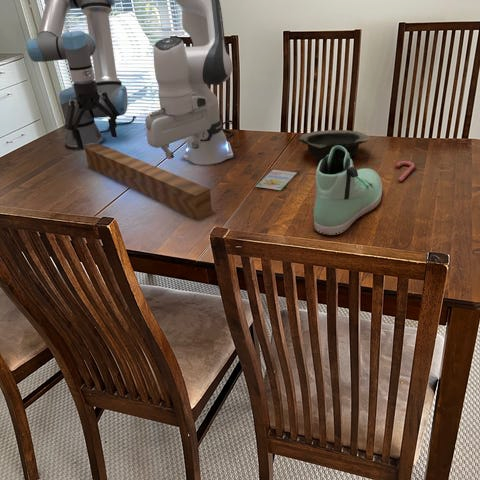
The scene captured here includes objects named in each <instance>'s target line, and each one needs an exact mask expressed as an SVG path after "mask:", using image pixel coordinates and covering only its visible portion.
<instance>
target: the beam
mask: <svg viewBox="0 0 480 480" xmlns="http://www.w3.org/2000/svg"><path fill="white" fill-rule="evenodd" d="M83 150H84V154H85V157H86V162H87V165H88V168H89V169H90V170H93V171H95V172H98V173H99V174H101V175H103V176H106V177H108V178H110V179H111V180H114V181H115V182H118V183H120V184H122V185H124V186H126V187H128V188H130V189H132V190H134V191H136V192H139V193H141V194H142V195H145V196H146V197H149V198H150V199H153V200H155V201H157V202H159V203H161V204H163V205H166V206H167V207H169V208H171V209H173V210H175V211H178V212H180V213H181V214H184V215H186V216H188V217H190V218H192V219H194V220H196V221H200V220H202V219H204V218H206V217H208V216H210V215H212V214H213V206H212V205H213V204H212V195H211V189H210V188H209V187H207V186H204V185H202V184H199V183H197V182H194V181H192V180H189V179H187V178H184V177H182V176H180V175H177V174H174V173H172V172H170V171H168V170H165V169H163V168H161V167H157V166H155V165H153V164H150V163H148V162H146V161H143V160H140V159H138V158H135V157H133V156H131V155H128V154H126V153H123V152H121V151H119V150H116V149H113V148H111V147H109V146H107V145H104V144H102V143H101V144H99V143H95V144H92V145H89V146H86V147H84V149H83Z"/></svg>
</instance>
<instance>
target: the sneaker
mask: <svg viewBox="0 0 480 480" xmlns="http://www.w3.org/2000/svg"><path fill="white" fill-rule="evenodd" d="M317 165H318V166H317V168H316V172H315V201H314V207H313V225H314V229H315V231H316V232H318V233H320V234H323V235H326V236H327V235H328V236H336V235H339V234H342V233H344V232H345V231H347V230H348V229H349V228H350V227H351V226H352V225H353V224H354V222H356V221H357V220H358V219H359V218H360V217H362V216H363V215H365V214H367V213H370V212H372V210H374V209H375V208H377V207H378V205H380V203H381V200H382V196H383V184H382V183H383V182H382V179H381V176H380V175H379V173H378V172H377V171H376V170H374V169H372V168H367V167H365V168H358V169H357V168H355V167H354V161H353V158H352V159H350V156H349V153H348V152H347V150H346V149H345V148H344V147H342V146H334V147H333V148H332V149H331V152H330V154H329V155H327V156H326V157H325V158H324V159H322V160H321V161H320V163H318V164H317ZM343 230H344V231H343ZM319 231H320V232H319ZM322 232H323V233H322ZM339 232H340V233H339ZM326 233H327V234H326ZM328 233H329V234H328ZM335 233H337V234H335Z"/></svg>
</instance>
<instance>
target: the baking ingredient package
mask: <svg viewBox="0 0 480 480" xmlns="http://www.w3.org/2000/svg"><path fill="white" fill-rule="evenodd" d="M296 175H297V172H296V171H288V170H280V169H272V170H271V171H270V172H269V173H268V174H267V175H266V176H265V177H263V179H262V180H260V181H259V182H258V183H257V184H256V185H255V187H257V188H262V189H263V188H264V189H268V190H269V189H270V190H275V191H281V190H283V189H284V187H285V186H286V185H287V184H288V183H289V182H290V181H291V180H292V179H293V178H294V177H295V176H296Z"/></svg>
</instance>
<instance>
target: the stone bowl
mask: <svg viewBox="0 0 480 480" xmlns="http://www.w3.org/2000/svg"><path fill="white" fill-rule="evenodd" d="M369 140H371V137H370V136H368V135H367V134H366V133H363V132H359V131H357V130H349V129H348V130H343V129H341V130H339V129H328V130H316V131H311V132H305V133H303V134H302V135H300V137H299V139H298V140H297V141H299V142H301V143H303V144H306V145H307V150H308V152H309V154H310V155H311V157H313V158H315V159H316V163H317V164H319V163H320V161H321V160H322V159H324V158H325V157H326V156H327V155H329V154H330V152H331V149H332V148H333V147H334V146H342V147H344V148H345V149H346V150H347V152H348V153H349V156H350V159H352V160H353V159H356V157H357V155H358V153H359V145H362V144H364V143H366V142H368V141H369Z"/></svg>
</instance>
